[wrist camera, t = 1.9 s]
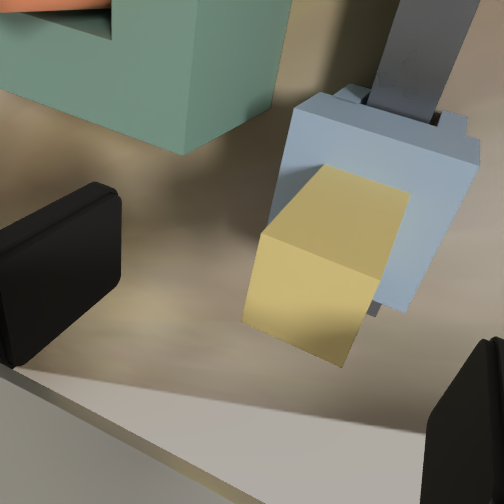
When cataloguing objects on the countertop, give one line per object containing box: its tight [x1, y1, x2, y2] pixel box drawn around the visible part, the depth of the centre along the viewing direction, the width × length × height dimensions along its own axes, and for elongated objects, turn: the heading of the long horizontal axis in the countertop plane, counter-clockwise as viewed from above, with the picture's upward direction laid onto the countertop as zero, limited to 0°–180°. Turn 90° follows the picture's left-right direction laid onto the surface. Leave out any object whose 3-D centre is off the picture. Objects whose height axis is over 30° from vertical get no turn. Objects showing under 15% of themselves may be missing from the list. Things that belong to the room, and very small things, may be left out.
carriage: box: [241, 83, 480, 368], centre depth 16 cm, size 6×6×11 cm
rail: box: [366, 0, 480, 317], centre depth 16 cm, size 4×19×5 cm, turn 169°
